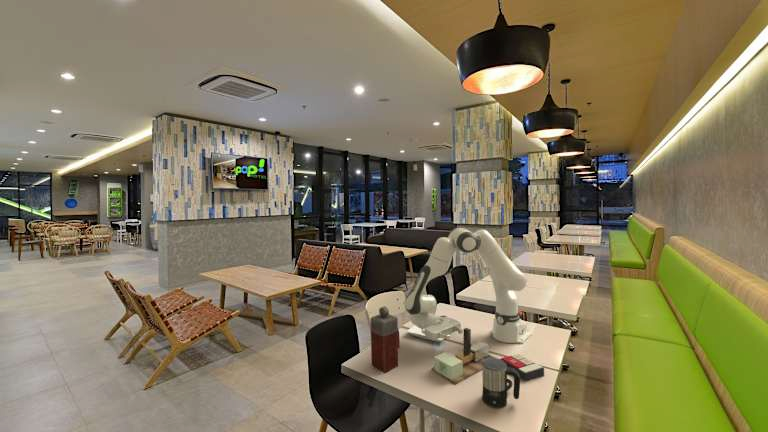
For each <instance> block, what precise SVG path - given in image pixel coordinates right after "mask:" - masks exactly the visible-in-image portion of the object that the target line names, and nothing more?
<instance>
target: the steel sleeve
mask: <svg viewBox="0 0 768 432" xmlns="http://www.w3.org/2000/svg"><path fill="white" fill-rule="evenodd" d="M489 348H490V345H489V344H487V343H485V342H482V341H478V342H477V343H473V344H471V351H473V352H475V359H473V360H471V361H473V362H475V363H478V362H480V361H481V360H480V359H482V358H483V357H484V358H488V357H490V356H491V355H490V349H489Z"/></svg>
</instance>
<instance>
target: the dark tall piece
mask: <svg viewBox="0 0 768 432" xmlns="http://www.w3.org/2000/svg"><path fill="white" fill-rule="evenodd" d="M462 330H463V333H462V334H463V338H462V339H463V344H462V345H463V352H461V353H460V354H458V355H455V357H456V358H458V359H460V360H462V361H463V364H465V363H467V362H469V361H471V360H473V359H475V352H473V351H471V346H472V344H471V341H472V337H471V336H472V333H471V332H472V330H471V329H470V328H468V327H465V328H463V329H462Z"/></svg>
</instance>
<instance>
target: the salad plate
mask: <svg viewBox="0 0 768 432" xmlns="http://www.w3.org/2000/svg"><path fill="white" fill-rule="evenodd" d="M421 331H422V329H420V328H418V327H417V326H415V325H414V324H413V325H412V326H411V327H410V328H409V329H408V330H406V332H407V334H408V335H411V336H413V337H416V338H420V339H424V340H429V341H433V342H437V343H441V342H443V341H444V340H445V339H444V338H438V339H436V340H431V339H430V338H428V337H427V336H425V334H423V333H422V332H421Z"/></svg>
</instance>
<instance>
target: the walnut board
mask: <svg viewBox="0 0 768 432" xmlns="http://www.w3.org/2000/svg"><path fill="white" fill-rule="evenodd" d="M488 358H496V357H495V356H492V355H490V357H488ZM483 359H485V358H484V357H483V358H482V359H480V360H481V361H480V362H478V363H475V362H473V361H469V362H467V363H465V364H463V375H461V376H459V377H457V378H455V379H453V380H450V379H449V378H447V377H445V376H444V375H442V374H440V373H439V372H437V371H435V366H432V367H431V371H432V372H434V373H435V374H437V375H439V377H441V378H443V379H446V380H447V381H448V382H450V383H452V384H454V385H455V386H456V385H457V384H460V383H461V382H463V381H465V380H467V379H469V378H470V377H472V376H474V375H476V374H477V373H480V372H481V371H482V364H481V362H482V360H483Z"/></svg>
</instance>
